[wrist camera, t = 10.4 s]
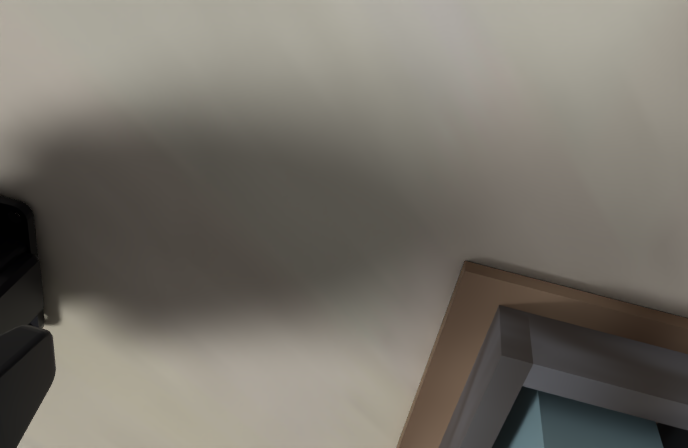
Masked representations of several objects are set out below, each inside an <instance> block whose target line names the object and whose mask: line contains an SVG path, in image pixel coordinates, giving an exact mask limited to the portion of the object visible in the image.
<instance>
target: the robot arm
mask: <svg viewBox="0 0 688 448" xmlns="http://www.w3.org/2000/svg"><path fill="white" fill-rule="evenodd" d="M16 213H18V214H19V215H20V217H19V216H18V215H17V214H16ZM43 307H44V301H43V291H42V281H41V270H40V262H39V259H38V253H37V243H36V233H35V223H34V215H33V211H32V210H31V208H30V207H29V206H28V205H27V204H26V203H24V202H22V201H19V200H15V199H11V198H8V197H4V196H0V448H17V446H18V444H19V442H20V440H21V439H22V437H23V435H24V433H25V431H26V430H27V428H28V426H29V424H30V422H31V421H32V419H33V417H34V415H35V413H36V412H37V410H38V408H39V406H40V404H41V403H42V401H43V399H44V397H45V395H46V394H47V392H48V390H49V388H50V386H51V384H52V382H53V380H54V376H55V371H56V365H55V355H54V344H53V336H52V334H51V333H50V331H48V330H45V329H42V328H43V327H44V313H43Z"/></svg>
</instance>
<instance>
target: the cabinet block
mask: <svg viewBox="0 0 688 448" xmlns="http://www.w3.org/2000/svg"><path fill="white" fill-rule="evenodd" d="M492 448H663V444H662V441H661V438H660V435H659V431H658V428H657V425H656V422H655V421H651V420H647V419H643V418H640V417H636V416H632V415H629V414H625V413H621V412H617V411H614V410H610V409H606V408H602V407H599V406H595V405H591V404H588V403H584V402H580V401H576V400H573V399H569V398H565V397H561V396H558V395H554V394H550V393H546V392H543V391H539V390H535V389H532V388H528V387H524V386H522V388H521V390H520V392H519V394H518V396H517V398H516V400H515V402H514V404H513V406H512V408H511V410H510V412H509V414H508V416H507V418H506V420H505V422H504V424H503V426H502V428H501V430H500V432H499V434H498V436H497V438H496V440H495V442H494V444H493V446H492Z"/></svg>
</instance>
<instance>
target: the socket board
mask: <svg viewBox="0 0 688 448" xmlns="http://www.w3.org/2000/svg"><path fill="white" fill-rule="evenodd" d="M522 386H524V387H528V388H532V389H535V390H539V391H543V392H546V393H550V394H554V395H558V396H561V397H565V398H569V399H573V400H576V401H580V402H584V403H588V404H591V405H595V406H599V407H602V408H606V409H610V410H614V411H617V412H621V413H625V414H629V415H632V416H636V417H640V418H643V419H647V420H651V421H655V422H656V425H657V428H658V431H659V435H660V438H661V441H662V444H663V448H688V318H684V317H680V316H676V315H672V314H669V313H665V312H661V311H657V310H653V309H649V308H645V307H642V306H638V305H634V304H630V303H626V302H622V301H618V300H615V299H611V298H607V297H603V296H599V295H595V294H591V293H588V292H584V291H580V290H576V289H572V288H568V287H564V286H561V285H557V284H553V283H549V282H545V281H541V280H537V279H534V278H530V277H526V276H522V275H518V274H514V273H510V272H507V271H503V270H499V269H495V268H491V267H487V266H483V265H480V264H476V263H472V262H468V261H465V262H464V264H463V267H462V270H461V273H460V275H459V278H458V281H457V283H456V286H455V289H454V292H453V294H452V297H451V300H450V303H449V305H448V308H447V311H446V314H445V316H444V319H443V322H442V324H441V327H440V330H439V333H438V335H437V338H436V341H435V344H434V346H433V349H432V352H431V355H430V357H429V360H428V363H427V365H426V368H425V371H424V374H423V376H422V379H421V382H420V385H419V387H418V390H417V393H416V395H415V398H414V401H413V404H412V406H411V409H410V412H409V415H408V417H407V420H406V423H405V426H404V428H403V431H402V434H401V436H400V439H399V442H398V445H397V447H396V448H492V446H493V444H494V442H495V440H496V438H497V436H498V434H499V432H500V430H501V428H502V426H503V424H504V422H505V420H506V418H507V416H508V414H509V412H510V410H511V408H512V406H513V404H514V402H515V400H516V398H517V396H518V394H519V392H520V390H521V388H522Z"/></svg>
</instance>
